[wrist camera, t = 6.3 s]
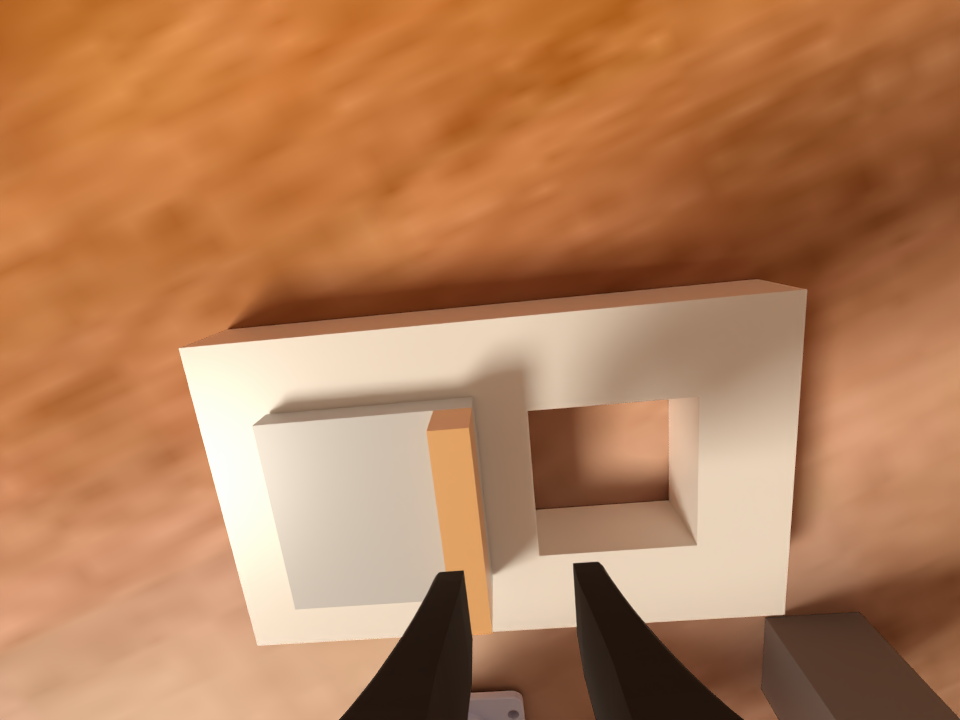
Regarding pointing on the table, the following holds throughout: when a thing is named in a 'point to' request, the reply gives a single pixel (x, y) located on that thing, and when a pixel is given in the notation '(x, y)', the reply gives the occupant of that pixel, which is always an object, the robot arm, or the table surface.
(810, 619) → the plug
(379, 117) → the table surface
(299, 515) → the shutter
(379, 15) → the table surface
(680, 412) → the socket plate
